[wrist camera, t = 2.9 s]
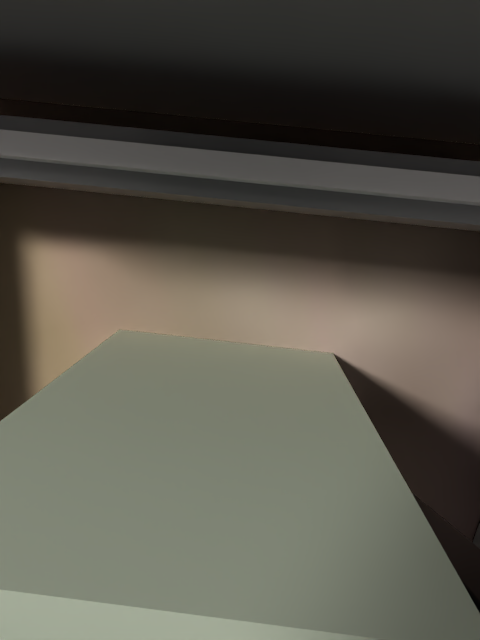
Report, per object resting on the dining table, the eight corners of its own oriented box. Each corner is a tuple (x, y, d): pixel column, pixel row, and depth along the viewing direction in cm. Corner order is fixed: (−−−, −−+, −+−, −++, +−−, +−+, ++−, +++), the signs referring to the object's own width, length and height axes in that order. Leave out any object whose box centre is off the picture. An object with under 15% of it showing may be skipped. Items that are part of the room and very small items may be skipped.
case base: (632, 204, 7) (878, 193, 4) (462, 652, 10) (537, 810, 8) (-132, 129, 7) (-371, 71, 5) (-56, 587, 11) (-166, 715, 8)
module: (332, 352, 8) (530, 701, 2) (301, 525, 10) (371, 1033, 4) (120, 328, 8) (-235, 600, 2) (118, 502, 10) (-111, 959, 4)
